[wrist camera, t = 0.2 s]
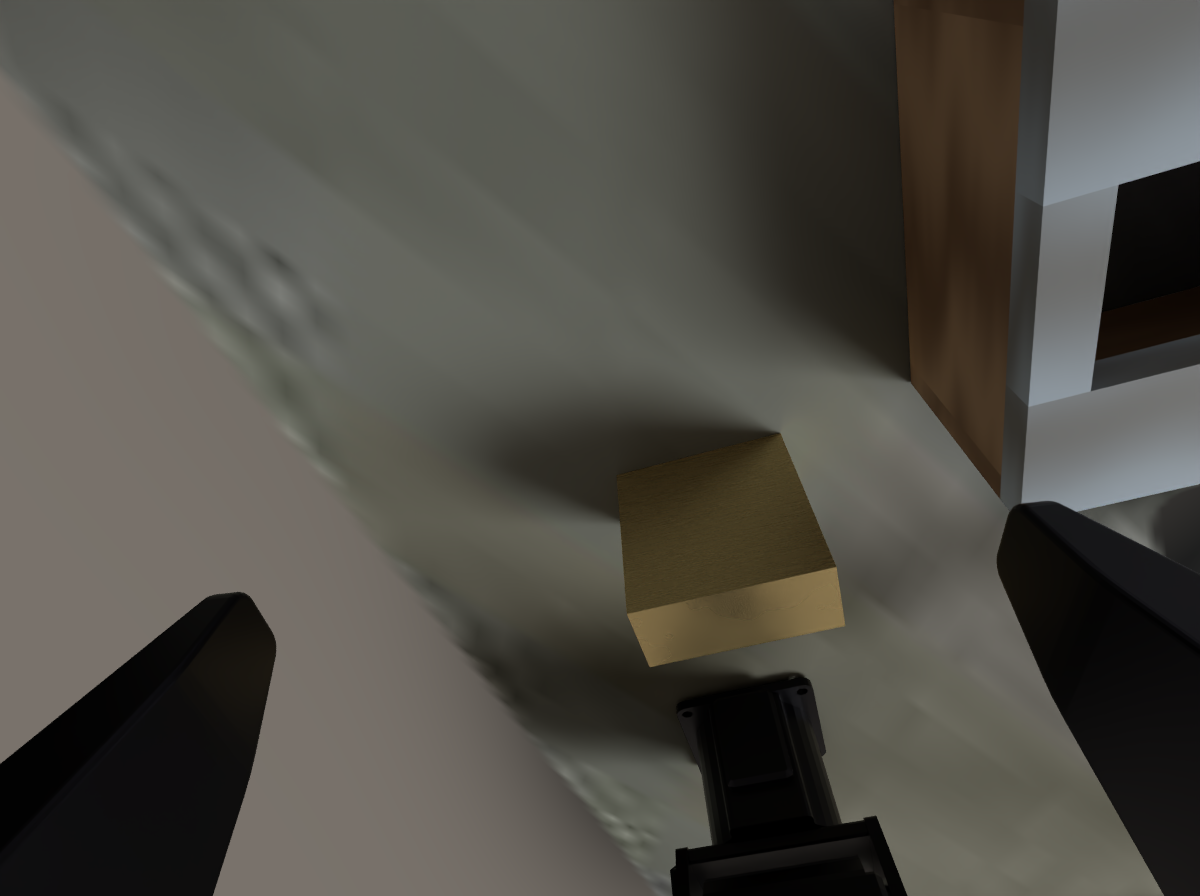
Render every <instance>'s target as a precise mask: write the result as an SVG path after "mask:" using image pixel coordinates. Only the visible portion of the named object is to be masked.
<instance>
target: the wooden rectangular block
mask: <svg viewBox="0 0 1200 896" xmlns="http://www.w3.org/2000/svg"><path fill="white" fill-rule="evenodd" d="M617 486H618V500H619V513H620V527H621V540H622V554H623V567H624V581H625V594H626V608H627V615H628V618H629V620H630V622H631V625H632V627H633V629H634V632H635V634H636V636H637V639H638V641H639V643H640V646H641V648H642V650H643V653H644V655H645V657H646V660H647V662H648V664H649V667H653V666H658V665H662V664H667V663H672V662H676V661H681V660H686V659H691V658H695V657H700V656H705V655H710V654H714V653H719V652H724V651H728V650H733V649H738V648H743V647H747V646H752V645H757V644H762V643H766V642H771V641H776V640H780V639H785V638H790V637H795V636H799V635H804V634H809V633H814V632H818V631H823V630H828V629H832V628H837V627H842V626H845V622H844V615H843V608H842V601H841V595H840V588H839V581H838V574H837V568H836V565H835V562H834V560H833V558H832V555H831V553H830V551H829V548H828V546H827V543H826V541H825V539H824V536H823V534H822V531H821V529H820V527H819V524H818V522H817V519H816V517H815V515H814V512H813V510H812V508H811V505H810V503H809V500H808V498H807V496H806V493H805V491H804V488H803V486H802V484H801V481H800V479H799V477H798V474H797V472H796V469H795V467H794V465H793V462H792V460H791V457H790V455H789V453H788V450H787V448H786V446H785V443H784V441H783V438H782V436H781V434H780V433H779V434H775V435H771V436H767V437H763V438H759V439H756V440H752V441H748V442H744V443H740V444H736V445H732V446H728V447H724V448H721V449H717V450H713V451H709V452H705V453H701V454H697V455H693V456H690V457H686V458H682V459H678V460H674V461H670V462H666V463H662V464H659V465H655V466H651V467H647V468H643V469H639V470H635V471H631V472H627V473H624V474H620V475H617Z"/></svg>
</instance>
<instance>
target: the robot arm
mask: <svg viewBox="0 0 1200 896" xmlns="http://www.w3.org/2000/svg"><path fill="white" fill-rule="evenodd" d="M997 569H998V573H999V576H1000V579H1001V581H1002V584H1003V586H1004V588H1005V591H1006V593H1007V595H1008V598H1009V600H1010V602H1011V605H1012V607H1013V609H1014V611H1015V614H1016V616H1017V618H1018V621H1019V623H1020V625H1021V628H1022V630H1023V632H1024V635H1025V637H1026V639H1027V642H1028V644H1029V646H1030V649H1031V651H1032V653H1033V656H1034V658H1035V660H1036V662H1037V665H1038V667H1039V669H1040V672H1041V674H1042V676H1043V679H1044V681H1045V683H1046V685H1047V687H1048V689H1049V691H1050V694H1051V696H1052V698H1053V700H1054V701H1055V703H1056V705H1057V707H1058V709H1059V711H1060V713H1061V715H1062V716H1063V718H1064V720H1065V722H1066V724H1067V725H1068V727H1069V729H1070V731H1071V732H1072V734H1073V736H1074V738H1075V739H1076V741H1077V743H1078V745H1079V746H1080V748H1081V750H1082V752H1083V753H1084V755H1085V757H1086V759H1087V761H1088V762H1089V764H1090V766H1091V768H1092V769H1093V771H1094V773H1095V775H1096V776H1097V778H1098V780H1099V782H1100V783H1101V785H1102V787H1103V789H1104V790H1105V792H1106V794H1107V796H1108V798H1109V799H1110V801H1111V803H1112V805H1113V806H1114V808H1115V810H1116V812H1117V813H1118V815H1119V817H1120V819H1121V820H1122V822H1123V824H1124V826H1125V827H1126V829H1127V831H1128V833H1129V834H1130V836H1131V838H1132V840H1133V842H1134V843H1135V845H1136V847H1137V849H1138V850H1139V852H1140V854H1141V856H1142V857H1143V859H1144V861H1145V863H1146V864H1147V866H1148V868H1149V870H1150V871H1151V873H1152V875H1153V877H1154V879H1155V880H1156V882H1157V884H1158V886H1159V887H1160V889H1161V891H1162V893H1163V894H1164V896H1200V574H1199V573H1197V572H1194V571H1193V570H1191V569H1189V568H1187V567H1185V566H1183V565H1181V564H1179V563H1177V562H1175V561H1173V560H1171V559H1169V558H1167V557H1165V556H1163V555H1161V554H1159V553H1157V552H1155V551H1153V550H1151V549H1149V548H1147V547H1145V546H1143V545H1141V544H1139V543H1137V542H1135V541H1133V540H1131V539H1129V538H1127V537H1125V536H1123V535H1121V534H1119V533H1117V532H1116V531H1114V530H1112V529H1110V528H1108V527H1106V526H1104V525H1102V524H1100V523H1098V522H1096V521H1094V520H1092V519H1090V518H1088V517H1086V516H1084V515H1082V514H1080V513H1078V512H1076V511H1074V510H1072V509H1070V508H1068V507H1066V506H1064V505H1062V504H1060V503H1057V502H1054V501H1039V502H1030V503H1021V504H1018V505H1015V506H1014V507H1013V508H1012V509H1011V510H1010V512H1009V514H1008V517H1007V521H1006V524H1005V528H1004V532H1003V535H1002V539H1001V543H1000V546H999V550H998V553H997ZM275 657H276V641H275V638H274V635H273V633H272V631H271V629H270V628H269V626H268V624H267V623H266V621H265V619H264V618H263V616H262V615H261V613H260V611H259V610H258V608H257V607H256V605H255V603H254V602H253V600H252V599H251V598H250V596H248V595H247V594H245V593H241V592H234V593H225V594H216V595H212V596H209V597H207V598H205V599H204V600H203V601H201V602H200V603H199V604H198V605H197V606H195V607H194V608H193V609H191V610H190V611H189V612H188V613H186V614H185V615H184V616H183V617H182V618H180V619H179V620H178V621H177V622H175V623H174V624H173V625H172V626H170V627H169V628H168V629H167V630H165V631H164V632H163V633H162V634H161V635H159V636H158V637H157V638H156V639H154V640H153V641H152V642H151V643H149V644H148V645H147V646H146V647H145V648H143V649H142V650H141V651H140V652H138V653H137V654H136V655H134V656H133V657H132V658H131V659H130V660H128V661H127V662H126V663H125V664H123V665H122V666H121V667H120V668H118V669H117V670H116V671H115V672H114V673H113V674H111V675H110V676H108V677H107V678H106V679H105V680H104V681H102V682H101V683H100V684H99V685H97V686H96V687H95V688H94V689H92V690H91V691H90V692H89V693H87V694H86V695H85V696H84V697H83V698H81V699H80V700H79V701H78V702H77V703H75V704H74V705H73V706H71V707H70V708H69V709H68V710H66V711H65V712H64V713H63V714H61V715H60V716H59V717H58V718H56V719H55V720H54V721H53V722H51V723H50V724H49V725H48V726H47V727H45V728H44V729H43V730H42V731H40V732H39V733H38V734H37V735H35V736H34V737H33V738H32V739H31V740H29V741H28V742H27V743H26V744H24V745H23V746H22V747H21V748H19V749H18V750H17V751H16V752H14V753H13V754H12V755H11V756H9V757H8V758H7V759H6V760H5V761H3V762H2V763H1V764H0V896H213V893H214V890H215V887H216V884H217V881H218V877H219V875H220V871H221V868H222V865H223V862H224V859H225V856H226V852H227V849H228V846H229V843H230V840H231V836H232V833H233V830H234V827H235V824H236V821H237V818H238V814H239V811H240V808H241V805H242V802H243V798H244V795H245V792H246V788H247V785H248V781H249V778H250V775H251V770H252V766H253V762H254V758H255V754H256V749H257V744H258V739H259V734H260V729H261V725H262V720H263V715H264V710H265V705H266V700H267V696H268V691H269V686H270V681H271V676H272V671H273V666H274V662H275ZM676 710H677V717H678V719H679V722H680V724H681V726H682V729H683V731H684V734H685V736H686V738H687V741H688V743H689V745H690V748H691V750H692V753H693V755H694V757H695V760H696V762H697V764H698V767H699V769H700V772H701V774H702V780H703V786H704V793H705V800H706V806H707V813H708V820H709V826H710V833H711V840H712V846H706V847H700V848H694V849H688V847H685V848H679V849H676V866H675V867H673V868H672V869H671V870H670V874H671V884H672V894H673V896H907V894H906V891H905V888H904V886H903V883H902V881H901V878H900V876H899V873H898V870H897V868H896V865H895V863H894V860H893V857H892V855H891V852H890V850H889V847H888V845H887V842H886V839H885V837H884V834H883V832H882V829H881V827H880V824H879V821H878V819H877V816H871V817H865V818H863V819H864V820H862V821H856V822H850V823H844V824H842V822H841V819H840V815H839V812H838V809H837V806H836V802H835V799H834V796H833V792H832V789H831V786H830V782H829V779H828V776H827V773H826V769H825V766H824V763H823V759H822V756H823V755H824V754H825V753H826V749H825V744H824V739H823V735H822V730H821V725H820V720H819V715H818V711H817V706H816V701H815V696H814V691H813V688H812V684H811V682H810V680H809V679H807V678H797V679H792V680H787V681H782V682H777V683H772V684H767V685H762V686H757V687H752V688H747V689H742V690H737V691H732V692H727V693H722V694H718V695H713V696H708V697H703V698H698V699H693V700H688V701H683V702H680V703H679V704H678V705H677V706H676Z"/></svg>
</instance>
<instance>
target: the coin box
mask: <svg viewBox="0 0 1200 896" xmlns="http://www.w3.org/2000/svg"><path fill="white" fill-rule="evenodd" d="M894 20H895V42H896V63H897V85H898V107H899V129H900V151H901V172H902V194H903V216H904V238H905V259H906V281H907V303H908V325H909V347H910V368H911V384H912V385H913V386H914V388H915V389H916V390H917V391H918V393H919V394H920V395H921V397H922V398H923V399H924V401H925V402H926V403H927V404H928V406H929V407H930V408H931V410H932V411H933V412H934V414H935V415H936V416H937V417H938V419H939V420H940V421H941V423H942V424H943V425H944V427H945V428H946V429H947V430H948V432H949V433H950V434H951V436H952V437H953V438H954V440H955V441H956V442H957V443H958V445H959V446H960V447H961V449H962V450H963V451H964V453H965V454H966V455H967V456H968V458H969V459H970V460H971V462H972V463H973V464H974V466H975V467H976V468H977V469H978V471H979V472H980V473H981V475H982V476H983V477H984V479H985V480H986V481H987V482H988V484H989V485H990V486H991V488H992V489H993V490H994V492H995V493H996V494H997V495H998V497H999V498H1000V499H1001V501H1002V502H1003V503H1004V505H1005V506H1006V507H1007V508H1008V510H1009V511H1010V510H1011V509H1012V508H1013V507H1014V506H1015V505H1018V504H1021V503H1030V502H1039V501H1054V502H1057V503H1060V504H1062V505H1064V506H1066V507H1068V508H1070V509H1072V510H1074V511H1076V512H1077V511H1082V510H1086V509H1090V508H1095V507H1099V506H1104V505H1108V504H1113V503H1117V502H1122V501H1126V500H1130V499H1135V498H1139V497H1144V496H1148V495H1153V494H1157V493H1161V492H1166V491H1170V490H1175V489H1179V488H1184V487H1188V486H1193V485H1197V484H1200V286H1199V287H1195V288H1192V289H1188V290H1184V291H1180V292H1177V293H1173V294H1169V295H1165V296H1162V297H1158V298H1154V299H1150V300H1147V301H1143V302H1139V303H1135V304H1131V305H1128V306H1124V307H1120V308H1116V309H1113V310H1109V311H1105V312H1101V311H1102V303H1103V296H1104V288H1105V281H1106V274H1107V266H1108V259H1109V251H1110V244H1111V236H1112V229H1113V222H1114V214H1115V207H1116V199H1117V192H1118V185H1119V184H1123V183H1126V182H1130V181H1133V180H1136V179H1140V178H1143V177H1147V176H1150V175H1154V174H1157V173H1161V172H1164V171H1167V170H1171V169H1174V168H1178V167H1181V166H1185V165H1188V164H1191V163H1195V162H1198V161H1200V0H894Z"/></svg>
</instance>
